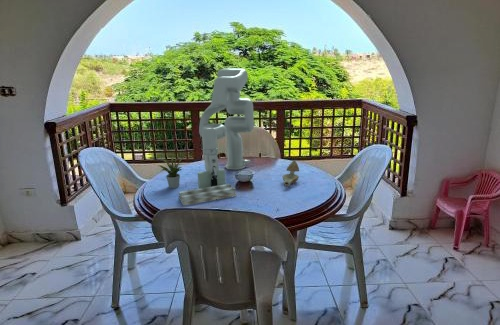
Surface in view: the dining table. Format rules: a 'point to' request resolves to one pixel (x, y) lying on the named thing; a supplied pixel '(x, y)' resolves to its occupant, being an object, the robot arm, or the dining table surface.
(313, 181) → the dining table surface
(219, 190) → the door track
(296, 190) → the dining table surface
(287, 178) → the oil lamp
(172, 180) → the house plant
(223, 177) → the door panel
